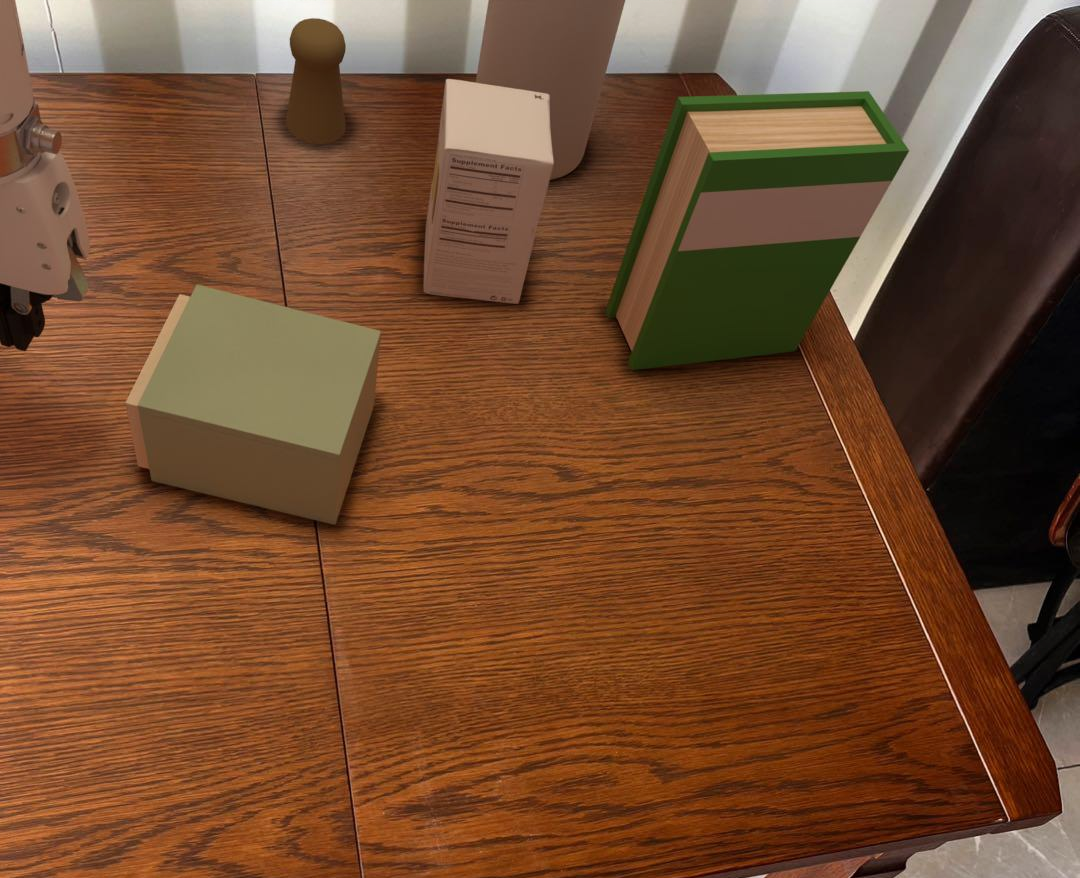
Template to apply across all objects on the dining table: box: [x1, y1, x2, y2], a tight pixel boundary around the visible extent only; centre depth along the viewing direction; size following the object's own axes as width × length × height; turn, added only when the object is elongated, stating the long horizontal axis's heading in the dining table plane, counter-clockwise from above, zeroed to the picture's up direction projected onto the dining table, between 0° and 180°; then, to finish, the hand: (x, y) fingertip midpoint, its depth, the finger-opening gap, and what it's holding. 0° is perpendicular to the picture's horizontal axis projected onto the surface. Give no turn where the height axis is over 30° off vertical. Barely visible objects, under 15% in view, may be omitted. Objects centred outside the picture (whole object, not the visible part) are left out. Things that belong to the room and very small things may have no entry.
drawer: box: [125, 293, 191, 470], centre depth 85 cm, size 15×11×8 cm
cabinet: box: [138, 283, 382, 525], centre depth 85 cm, size 15×13×10 cm
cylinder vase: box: [475, 0, 626, 181], centre depth 105 cm, size 12×12×25 cm
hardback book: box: [605, 90, 910, 371], centre depth 95 cm, size 18×7×24 cm, turn 107°
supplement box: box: [423, 78, 554, 305], centre depth 97 cm, size 10×9×17 cm
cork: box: [285, 17, 347, 145], centre depth 106 cm, size 6×6×11 cm
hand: (22, 333), depth 78 cm, fingers closed
